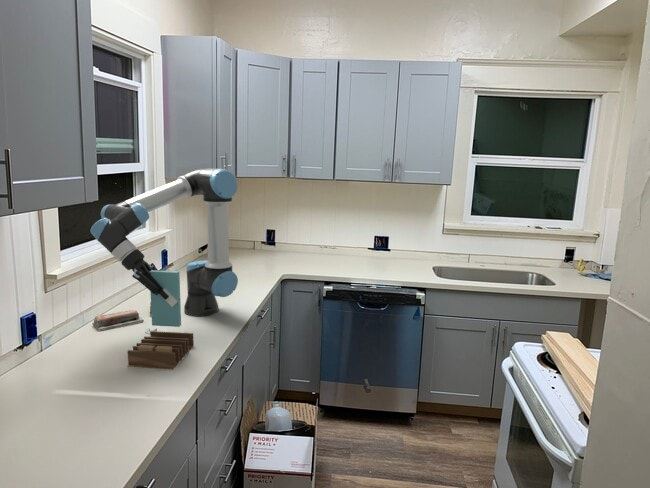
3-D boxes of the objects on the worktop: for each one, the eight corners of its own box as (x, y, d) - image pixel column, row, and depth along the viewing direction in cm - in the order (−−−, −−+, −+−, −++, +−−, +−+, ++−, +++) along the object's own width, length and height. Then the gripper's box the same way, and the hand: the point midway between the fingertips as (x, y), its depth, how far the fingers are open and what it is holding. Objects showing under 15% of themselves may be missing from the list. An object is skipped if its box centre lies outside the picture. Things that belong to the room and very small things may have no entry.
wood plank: (153, 316, 208) (153, 306, 207) (148, 317, 207) (148, 306, 206) (158, 305, 222) (157, 295, 222) (153, 306, 222) (152, 295, 221)
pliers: (123, 342, 177) (140, 327, 192) (124, 346, 177) (140, 331, 192) (150, 343, 177) (164, 328, 191) (150, 347, 177) (164, 331, 192)
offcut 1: (141, 361, 162) (140, 344, 161) (155, 362, 162) (154, 345, 160) (138, 363, 160) (137, 347, 159) (153, 364, 160) (152, 348, 158)
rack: (151, 346, 177) (151, 331, 176) (193, 348, 176) (193, 333, 174) (126, 369, 158) (125, 352, 157) (173, 372, 157) (172, 355, 156)
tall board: (154, 323, 172) (151, 270, 168) (181, 324, 171) (179, 271, 168) (152, 325, 170) (149, 271, 166) (179, 326, 170) (177, 272, 166)
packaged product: (98, 321, 189) (91, 314, 196) (98, 332, 190) (92, 325, 197) (143, 312, 200) (135, 306, 208) (144, 323, 201) (136, 316, 209)
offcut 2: (158, 362, 161) (157, 345, 160) (172, 363, 161) (172, 346, 160) (155, 364, 159) (155, 348, 158) (170, 365, 159) (169, 348, 158)
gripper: (132, 257, 175) (177, 303, 177) (110, 267, 160) (160, 316, 162) (145, 244, 174) (191, 290, 176) (125, 252, 159) (175, 302, 161)
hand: (176, 302), depth 169 cm, fingers closed on tall board, 2 cm apart
